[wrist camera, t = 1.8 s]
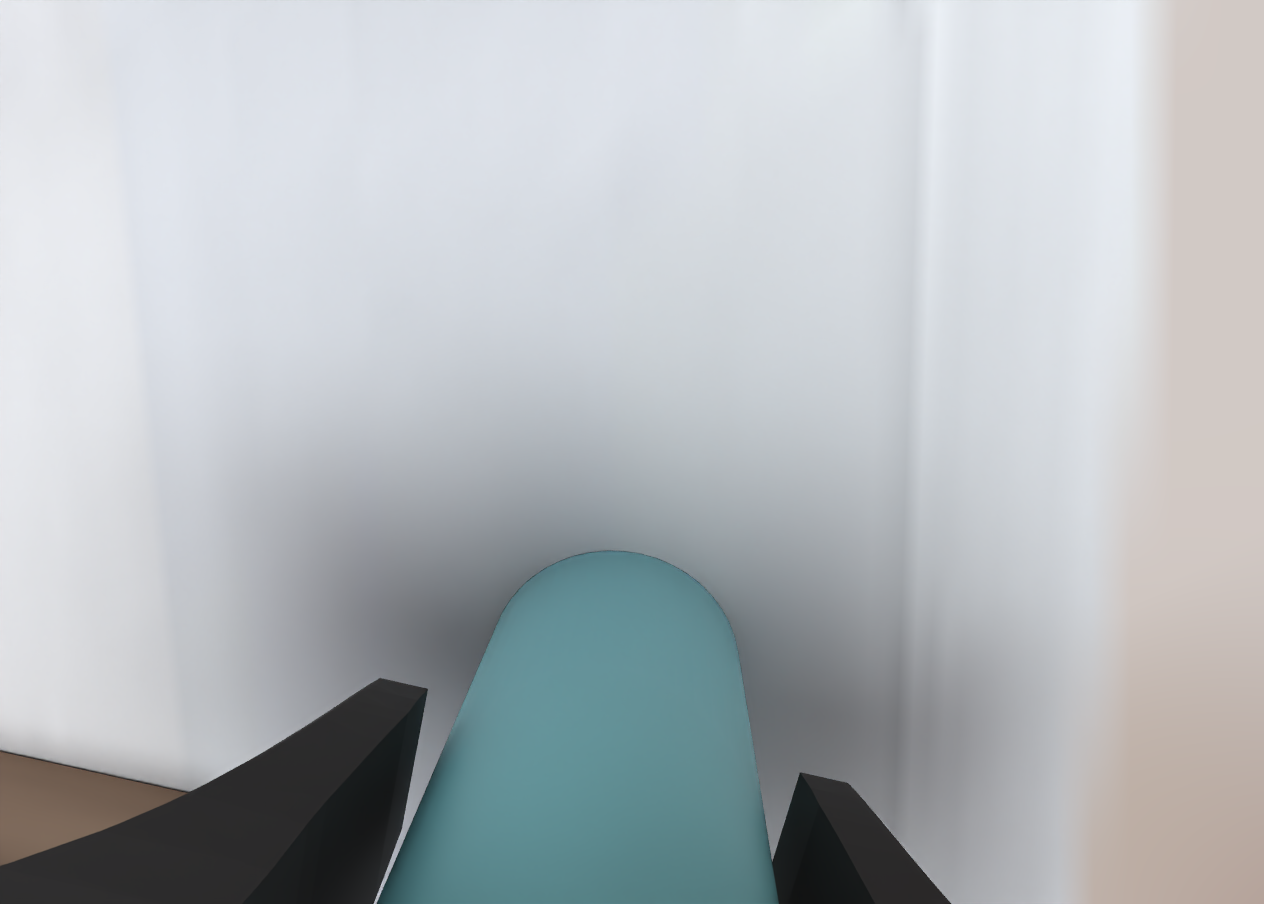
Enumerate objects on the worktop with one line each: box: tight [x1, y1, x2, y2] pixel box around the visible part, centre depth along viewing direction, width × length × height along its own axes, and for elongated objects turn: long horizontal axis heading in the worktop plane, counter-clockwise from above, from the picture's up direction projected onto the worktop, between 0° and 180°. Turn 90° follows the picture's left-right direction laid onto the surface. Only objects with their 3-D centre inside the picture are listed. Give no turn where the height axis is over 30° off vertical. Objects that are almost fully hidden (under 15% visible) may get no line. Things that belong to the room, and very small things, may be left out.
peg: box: [377, 551, 779, 904], centre depth 10 cm, size 4×4×10 cm
